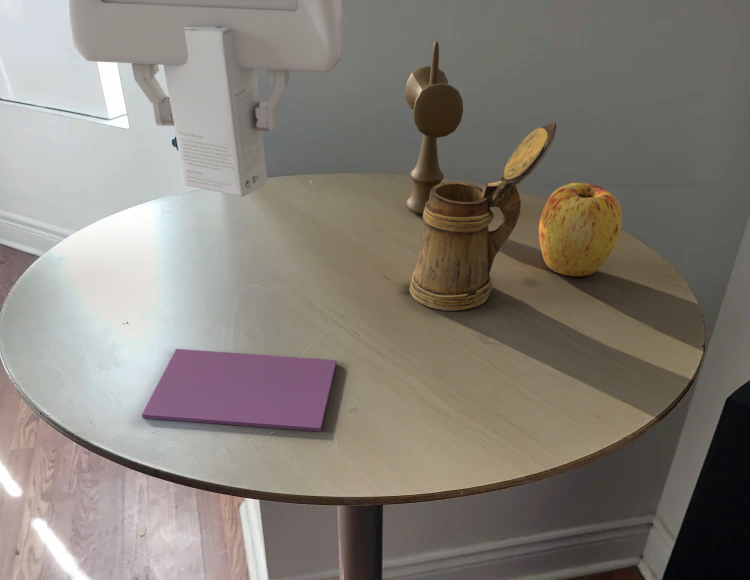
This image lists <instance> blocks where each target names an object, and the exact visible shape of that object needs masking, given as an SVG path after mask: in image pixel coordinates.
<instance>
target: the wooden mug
mask: <svg viewBox="0 0 750 580" xmlns="http://www.w3.org/2000/svg"><path fill="white" fill-rule="evenodd" d="M557 129H558V128H557V123H556V122H552V123H547V124H544V125H542V126H540V127H538V128H536V129H534V130H533V131H531V132H529V134H528V135H526V136H525V138H523V139H522V141H520V143H519V144H518V146H517V147H516V148H515V149H514V151H513V153H511V156H510V157H509V159H508V160H507V163H506V165H505V167H504V170H503V174H502V176H501V178H499V180H498V181H495V182H488V183H485V184H484V185H483V188H481V187H479V186H478V185H475V184H472V183H468V182H461V181H447V182H441V183H440V184H438V185H436V186H434V187H433V188H432V189H431V191H430V196H429V201H428V202H427V203H426V206H425V209H424V213H423V215H422V219H423V221H424V225H423V231H422V236H421V240H420V246H419V252H418V255H417V260H416V265H415V269H414V270H413V272H412V276H411V280H410V284H409V292H410V295H411V296H412V298H413V299H414V300H415V301H416V302H418V303H420V304H422V305H423V306H426V307H429V308H432V309H435V310H438V311H447V312H451V311H454V312H456V311H464V310H469V309H473V308H477V307H479V306H481V305H482V304H484V303H486V302H487V300H488V299H489V298H490V296H491V292H492V289H493V282H492V276H491V274H490V273H491V270H492V267H493V263H494V260H495V257H496V256H497V255H498V253H499V251H500V249H501V248H502V247H503V245H504V244H505V243H506V241H507V240H508V239H509V238H510V235H511V234H512V233H513V231H514V229H515V227H516V226H517V223H518V220H519V217H520V215H521V207H522V206H521V203H522V201H521V196H520V192H519V190H518V188H517V185H518V184H520V183H521V182H522V181H524V180H525V179H527V178H528V176H529V175H530V174H532V172H534V170H535V169H536V168H537V167H538V166H539V165H540V163H541V162H542V161H543V159H544V158H545V156H546V155H547V153H548V151H549V150H550V148H551V146H552V144H553V142H554V139H555V136H556V134H557V133H556V132H557ZM491 208H498V209H499V210H500V211H501V213H502V221H501V223H500V224H499V225H498V227H497V228H495V229H493V230H490V231H489V225H490V224H491V223H492V222H493V220H494V217H495V214H494V211H492V209H491Z"/></svg>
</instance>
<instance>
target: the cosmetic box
mask: <svg viewBox="0 0 750 580" xmlns="http://www.w3.org/2000/svg"><path fill="white" fill-rule="evenodd" d="M183 28H184V29H185V37H186V43H187V50H188V59H187V63H186V64H184V65H163V70H164V77H165V82H166V87H167V93H168V97H169V99H170V104H171V110H172V117H173V122H174V126H173V128H174V133H175V137H176V138H175V139H176V144H177V150H178V155H179V162H180V167H181V174H182V180H183V184H184V185H185V186H188V187H192V188H197V189H202V190H207V191H213V192H217V193H223V194H227V195H233V196H239V197H246V196H249V195H250V194H252V193H254V192H255V191H256V190H258V189H260V188H261V187H262V186H264V185H265V184H266V183H267V182H268V174H267V165H266V152H265V144H264V143H265V142H264V133H263V131H258V130H257V127H256V123H257V121H258V120H257V118H256V115H255V107H256V106H257V105H258V103H259V102H260V93H259V83H258V73H257V69H242V68H237V66H236V63H235V59H234V53H233V41H232V32H231V28H227V27H183Z"/></svg>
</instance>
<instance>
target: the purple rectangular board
mask: <svg viewBox="0 0 750 580" xmlns="http://www.w3.org/2000/svg"><path fill="white" fill-rule="evenodd" d="M337 363H338V361H337V359H326V358H314V357H313V358H311V357H297V356H284V355H282V356H281V355H271V354H269V355H268V354H257V353H256V354H253V353H243V352H242V353H240V352H229V351H228V352H226V351H214V350H213V351H212V350H199V349H187V348H186V349H185V348H175V350H174V352H173V354H172V356H171V358H170V360H169V362H168V363H167V365H166V367H165V369H164V371H163V372H162V375H161V377H160V379H159V380H158V383H157V384H156V387H155V389H154V390H153V392H152V393H151V396H150V398H149V400H148V401H147V404H146V406H145V408H144V409H143V411H142V413H141V418H142V419H149V420H165V421H176V422H188V423H201V424H214V425H215V424H216V425H227V426H228V425H229V426H244V427H254V428H255V427H256V428H267V429H281V430H282V429H283V430H295V431H307V432H309V431H310V432H322V429H323V424H324V419H325V415H326V411H327V406H328V404H329V403H328V402H329V398H330V394H331V389H332V386H333V382H334V376H335V372H336V367H337Z"/></svg>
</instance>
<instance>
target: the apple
mask: <svg viewBox="0 0 750 580" xmlns="http://www.w3.org/2000/svg"><path fill="white" fill-rule="evenodd" d="M543 206H544V207H543V209H542V212H541V215H540V219H539V224H538V239H539V240H538V241H539V244H540V250H541V254H542V258H543V261H544V263H545V265H546V266H547V267H548V268H549V269H550V270H551V271H552V272H554V273H557V274H559V275H563V276H569V277H586V276H589V275H592V274H593V273H595V272H596V271H597V270H599V269H600V267H601V266H602V265H603V264H604V263H605V262H606V260H607V259H608V258H609V257H610V255H611V253H612V252H613V251H614V249H615V247H616V245H617V243H618V241H619V238H620V235H621V231H622V226H623V213H622V208H621V205H620V202H619V200H618V199H617V197H615V195H614V194H613V193H611V192H609V191H608V190H606V189H605V188H603V187H602V186H599V185H596V184H594V183H593V184H592V183H588V182H570V183H567V184H564V185H561V186H560V187H558V188H557V189H556V190H554V191H553V192H552V193H551V194H550V196H549V197H548V199H547V200H546V202H545V203H544V205H543Z"/></svg>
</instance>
